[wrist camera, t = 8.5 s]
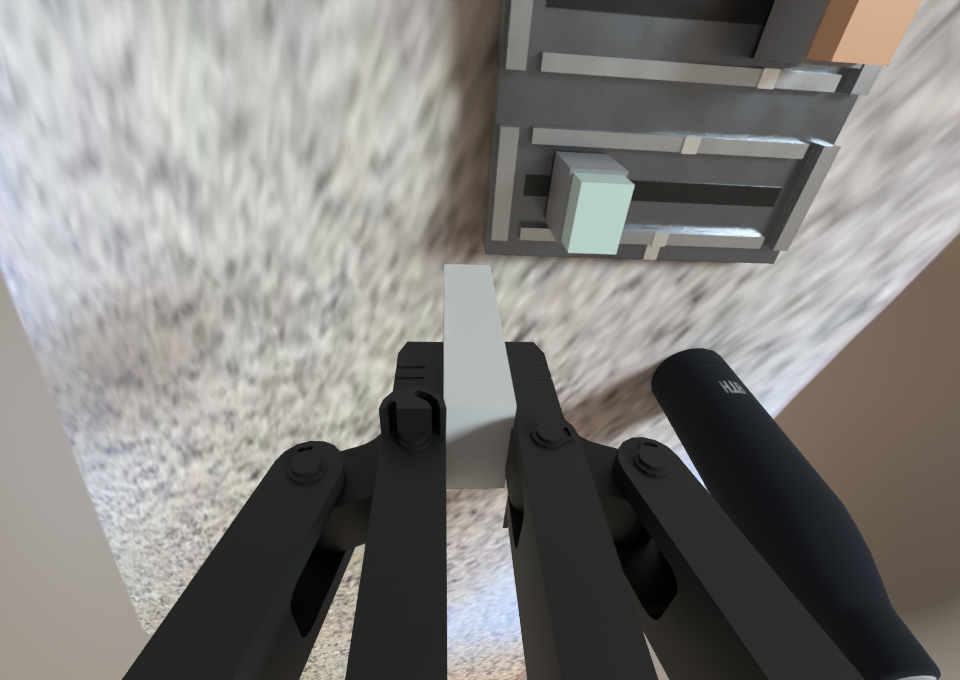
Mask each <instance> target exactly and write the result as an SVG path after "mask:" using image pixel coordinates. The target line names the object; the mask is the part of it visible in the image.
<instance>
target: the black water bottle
mask: <svg viewBox="0 0 960 680" xmlns="http://www.w3.org/2000/svg"><path fill="white" fill-rule="evenodd" d="M651 385H652V392H653V393H654V395H655V397H656V399H657V400H658V402H659V404H660V406H661V408H662V409H663V411H664V413H665V415H666V416H667V418H668V420H669V422H670V423H671V425H672V427H673V429H674V431H675V432H676V434H677V436H678V438H679V439H680V441H681V443H682V445H683V447H684V448H685V450H686V452H687V454H688V455H689V457H690V459H691V461H692V463H693V464H694V466H695V468H696V470H697V471H698V473H699V475H700V477H701V479H702V480H703V482H704V484H705V486H706V487H707V489H708V491H709V493H710V495H711V496H712V498H713V499H714V500H715V501H716V502H717V504H718V505H719V506H720V507H721V508H722V509H723V511H724V512H725V513H726V514H727V515H728V517H729V518H730V519H731V520H732V521H733V523H734V524H735V525H736V526H737V527H738V529H739V530H740V531H741V532H742V533H743V535H744V536H745V537H746V538H747V539H748V541H749V542H750V543H751V544H752V545H753V547H754V548H755V549H756V550H757V551H758V553H759V554H760V555H761V556H762V557H763V558H764V560H765V561H766V562H767V563H768V564H769V566H770V567H771V568H772V569H773V570H774V572H775V573H776V574H777V575H778V576H779V578H780V579H781V580H782V581H783V582H784V584H785V585H786V586H787V587H788V588H789V590H790V591H791V592H792V593H793V594H794V596H795V597H796V598H797V599H798V600H799V602H800V603H801V604H802V605H803V606H804V607H805V609H806V610H807V611H808V612H809V613H810V615H811V616H812V617H813V618H814V619H815V621H816V622H817V623H818V624H819V625H820V627H821V628H822V629H823V630H824V631H825V633H826V634H827V635H828V636H829V637H830V639H831V640H832V641H833V642H834V643H835V645H836V646H837V647H838V648H839V649H840V651H841V652H842V653H843V654H844V655H845V656H846V658H847V659H848V660H849V661H850V662H851V664H852V665H853V666H854V667H855V668H856V670H857V671H858V672H859V673H860V674H861V676H862V677H863V678H864V679H865V680H938V679H939V678H940V676H941V674H940V670H939V668H938V667H937V665H936V664H935V663H934V661H933V660H932V659H931V658H930V656H929V655H928V654H927V652H926V651H925V650H924V648H923V647H922V646H921V644H920V643H919V642H918V640H917V639H916V638H915V637H914V635H913V634H912V633H911V631H910V630H909V629H908V627H907V626H906V625H905V624H904V622H903V621H902V620H901V618H900V617H899V616H898V614H897V613H896V612H895V610H894V609H893V607H892V605H891V603H890V600H889V598H888V595H887V592H886V590H885V587H884V585H883V582H882V579H881V577H880V574H879V572H878V570H877V567H876V565H875V562H874V560H873V557H872V555H871V552H870V550H869V548H868V546H867V545H866V543H865V541H864V539H863V537H862V535H861V533H860V532H859V530H858V528H857V526H856V524H855V523H854V521H853V519H852V518H851V516H850V515H849V513H848V511H847V509H846V508H845V506H844V505H843V503H842V502H841V501H840V500H839V498H838V497H837V496H836V495H835V493H834V492H833V491H832V490H831V489H830V487H829V486H828V485H827V484H826V483H825V482H824V480H823V479H822V478H821V477H820V475H819V474H818V473H817V472H816V471H815V469H814V468H813V467H812V466H811V465H810V463H809V462H808V461H807V460H806V459H805V457H804V456H803V455H802V454H801V452H800V451H799V450H798V449H797V448H796V446H795V445H794V444H793V443H792V442H791V440H790V439H789V438H788V437H787V436H786V434H785V433H784V432H783V431H782V429H781V428H780V427H779V426H778V425H777V424H776V422H775V421H774V420H773V419H772V417H771V416H770V415H769V414H768V413H767V411H766V410H765V409H764V408H763V407H762V405H761V404H760V403H759V402H758V401H757V399H756V398H755V397H754V396H753V394H752V393H751V392H750V391H749V390H748V388H747V387H746V386H745V385H744V384H743V382H742V381H741V380H740V379H739V378H738V376H737V375H736V374H735V373H734V372H733V370H732V369H731V368H730V367H729V366H728V364H727V363H726V362H725V361H724V359H723V358H722V357H721V356H720V355H718V354H717V353H716V352H714V351H712V350H708V349H704V348H701V349H690V350H686V351H683V352H679V353H678V354H676V355H674V356H672V357H670V358H668V359H667V360H666V361H665V362H664V363H662V364H661V365H660V366H659V368H658V369H657V371H656V372H655V373H654V375H653V379H652V382H651Z"/></svg>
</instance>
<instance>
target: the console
mask: <svg viewBox="0 0 960 680" xmlns="http://www.w3.org/2000/svg"><path fill="white" fill-rule="evenodd" d="M774 1H775V0H501V11H500V24H499V38H498V51H497V65H496V78H495V92H494V105H493V119H492V132H491V146H490V159H489V173H488V186H487V200H486V213H485V227H484V240H483V242H484V248H485V254H498V255H528V256H558V257H588V258H619V259H643V260H679V261H709V262H739V263H769V264H774V262H775V260H776V258H777V256H778V254H779V252H780V251H788V249H789V247H790V245H791V243H792V241H793V239H794V237H795V235H796V233H797V231H798V229H799V227H800V225H801V223H802V221H803V220H804V218H805V216H806V214H807V212H808V210H809V208H810V206H811V204H812V202H813V200H814V198H815V196H816V194H817V192H818V190H819V189H820V187H821V185H822V183H823V181H824V179H825V177H826V175H827V173H828V171H829V169H830V167H831V165H832V163H833V161H834V159H835V158H836V156H837V154H838V152H839V150H840V148H841V147H839V146H836V145H834V143H835V141H836V139H837V137H838V135H839V133H840V131H841V129H842V127H843V125H844V123H845V121H846V119H847V117H848V115H849V113H850V112H851V110H852V108H853V106H854V104H855V102H856V100H857V98H858V96H859V95H868V94H869V92H870V90H871V88H872V86H873V84H874V82H875V80H876V78H877V76H878V74H879V72H880V70H881V68H882V66H883V65H870V64H862V66H861V68H860V69H859V68H846V67H833V66H820V65H808V64H796V63H787V62H778V61H770V60H761V59H754V56H755V53H756V51H757V48H758V45H759V42H760V40H761V37H762V34H763V32H764V29H765V26H766V23H767V21H768V18H769V15H770V12H771V10H772V7H773V4H774ZM556 151H559V152H577V153H595V154H608V155H609V156H610V157H611V158H613V159H614V160H615V161H616V162H618V163H619V164H620V165H621V166H623V167H624V168H625V169H626V170H627V171H629V172H628V176H627V179H629V180H630V181H631V182H632V183H633V184H635V186H634V190H633V194H632V197H631V201H630V205H629V208H628V212H627V216H626V220H625V223H624V227H623V231H622V235H621V238H620V242H619V246H618V249H617V253H616V254H586V253H568V252H567V251H566V249H565V247H564V245H563V244H557V243H556V241H555V239H554V237H553V235H552V233H551V231H550V229H549V227H548V225H547V223H546V221H545V217H546V210H547V204H548V197H549V191H550V185H551V178H552V172H553V166H554V159H555V153H556Z"/></svg>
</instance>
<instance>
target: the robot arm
mask: <svg viewBox="0 0 960 680" xmlns="http://www.w3.org/2000/svg"><path fill="white" fill-rule="evenodd" d="M379 414H380V425H381V434H380V435H379V436H378V437H377V438H375V439H374V440H372V441H370V442H369V443H366V444H364V445H361V446H358V447H355V448H351V449H347V450H344V451H339V450H338V449H337V448H336V447H335V445H332V444H330V443H327V442H324V441H309V442H305V443H301V444H297V445H295V446H294V447H292V448H290V449H288V450H286V451H285V452H284V453H283V454H282V455H281V456H280V457H279V458H278V459H277V460H276V461H275V462H274V464H273V465H272V466H271V468H270V469H269V471H268V472H267V474H266V475H265V476H264V478H263V479H262V481H261V482H260V484H259V485H258V486H257V488H256V489H255V491H254V492H253V494H252V495H251V496H250V498H249V499H248V501H247V502H246V504H245V505H244V506H243V508H242V509H241V511H240V512H239V514H238V515H237V516H236V518H235V519H234V521H233V522H232V523H231V525H230V526H229V528H228V529H227V531H226V532H225V533H224V535H223V536H222V538H221V539H220V541H219V542H218V543H217V545H216V546H215V548H214V549H213V551H212V552H211V553H210V555H209V556H208V558H207V559H206V561H205V562H204V563H203V565H202V566H201V568H200V569H199V571H198V572H197V573H196V575H195V576H194V578H193V579H192V580H191V582H190V583H189V585H188V586H187V588H186V589H185V590H184V592H183V593H182V595H181V596H180V598H179V599H178V600H177V602H176V603H175V605H174V606H173V608H172V609H171V610H170V612H169V613H168V615H167V616H166V618H165V619H164V620H163V622H162V623H161V625H160V626H159V628H158V629H157V630H156V632H155V633H154V635H153V636H152V637H151V639H150V640H149V642H148V643H147V645H146V646H145V647H144V649H143V650H142V652H141V653H140V655H139V656H138V657H137V659H136V660H135V662H134V663H133V665H132V666H131V668H130V669H129V670H128V672H127V673H126V675H125V676H124V677H123V679H122V680H299V679H300V676H301V674H302V672H303V669H304V667H305V665H306V662H307V660H308V658H309V655H310V653H311V650H312V648H313V646H314V643H315V641H316V639H317V636H318V634H319V632H320V629H321V627H322V625H323V622H324V620H325V618H326V615H327V613H328V610H329V608H330V606H331V603H332V601H333V599H334V596H335V594H336V592H337V589H338V587H339V585H340V582H341V580H342V578H343V575H344V573H345V570H346V568H347V566H348V563H349V561H350V559H351V556H352V554H353V552H354V549H355V547H356V546H359V545H362V544H365V543H366V545H365V552H364V558H363V565H362V572H361V578H360V585H359V591H358V598H357V605H356V611H355V618H354V624H353V631H352V638H351V644H350V651H349V657H348V664H347V671H346V677H345V680H447V552H446V489H469V488H504V485H505V479H506V481H507V488H508V497H507V503H506V509H505V515H504V523H503V528H509V536H510V544H511V552H512V560H513V569H514V577H515V585H516V593H517V601H518V609H519V617H520V625H521V633H522V641H523V649H524V657H525V665H526V673H527V680H658V677H657V674H656V671H655V668H654V665H653V662H652V659H651V656H650V653H649V649H648V647H647V643H646V640H645V637H644V634H643V632H644V633H645V635H646V637H647V639H648V641H649V643H650V645H651V646H652V648H653V650H654V652H655V653H656V656H657V658H658V659H659V661H660V663H661V665H662V667H663V668H664V670H665V672H666V674H667V676H668V678H669V680H865V679H864V678H863V677H862V676H861V674H860V673H859V672H858V671H857V670H856V668H855V667H854V666H853V665H852V664H851V662H850V661H849V660H848V659H847V658H846V656H845V655H844V654H843V653H842V652H841V651H840V649H839V648H838V647H837V646H836V645H835V643H834V642H833V641H832V640H831V639H830V637H829V636H828V635H827V634H826V633H825V631H824V630H823V629H822V628H821V627H820V625H819V624H818V623H817V622H816V621H815V619H814V618H813V617H812V616H811V615H810V613H809V612H808V611H807V610H806V609H805V607H804V606H803V605H802V604H801V603H800V602H799V600H798V599H797V598H796V597H795V596H794V594H793V593H792V592H791V591H790V590H789V588H788V587H787V586H786V585H785V584H784V582H783V581H782V580H781V579H780V578H779V576H778V575H777V574H776V573H775V572H774V570H773V569H772V568H771V567H770V566H769V564H768V563H767V562H766V561H765V560H764V558H763V557H762V556H761V555H760V554H759V553H758V551H757V550H756V549H755V548H754V547H753V545H752V544H751V543H750V542H749V541H748V539H747V538H746V537H745V536H744V535H743V533H742V532H741V531H740V530H739V529H738V527H737V526H736V525H735V524H734V523H733V521H732V520H731V519H730V518H729V517H728V515H727V514H726V513H725V512H724V511H723V509H722V508H721V507H720V506H719V505H718V504H717V502H716V501H715V500H714V499H713V498H712V496H711V495H710V494H709V493H708V492H707V490H706V489H705V488H704V487H703V486H702V484H701V483H700V482H699V481H698V480H697V478H696V477H695V476H694V475H693V474H692V472H691V471H690V470H689V469H688V468H687V466H686V465H685V464H684V463H683V462H682V460H681V459H680V458H679V457H678V456H677V455H676V454H675V453H674V452H673V451H672V450H671V449H670V448H669V447H667V446H665V445H664V444H662V443H660V442H658V441H656V440H652V439H648V438H644V437H638V438H630V439H628V440H626V441H624V442H623V443H622V444H621V446H620V447H619V449H616V448H612V447H608V446H604V445H601V444H597V443H594V442H591V441H588V440H586V439H584V438H582V437H580V436H579V435H578V433H577V432H576V430H575V428H574V427H573V426H572V425H571V424H569V423H568V422H567V421H566V420H565V419H564V417H563V414H562V410H561V407H560V404H559V401H558V397H557V394H556V391H555V387H554V384H553V381H552V379H551V374H550V371H549V369H548V365H547V361H546V358H545V355H544V353H543V352H542V351H541V350H540V349H539V347H538V346H537V345H536V344H535V343H534V342H504V336H503V331H502V326H501V321H500V315H499V310H498V305H497V300H496V294H495V289H494V284H493V279H492V273H491V268H490V265H459V264H444V310H443V342H407V343H406V344H405V346H404V347H403V348H402V349H401V350H400V352H399V353H398V359H397V368H396V373H395V380H394V387H393V392H391V393H390V394H389V395H388V396H387V397H386V398H385V399H383V401H382V403H381V405H380V408H379ZM642 630H643V631H642Z"/></svg>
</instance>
